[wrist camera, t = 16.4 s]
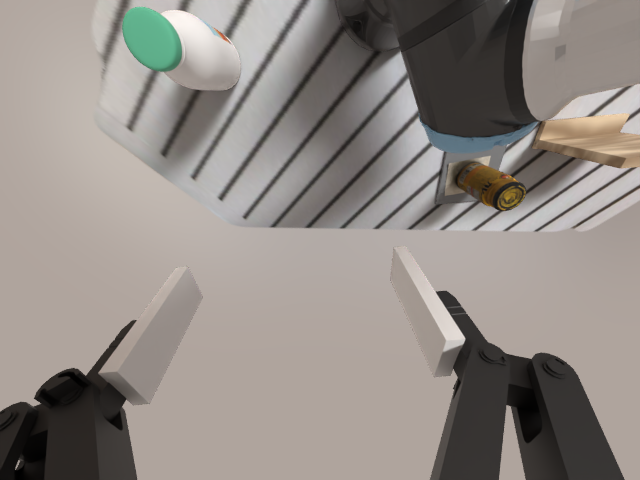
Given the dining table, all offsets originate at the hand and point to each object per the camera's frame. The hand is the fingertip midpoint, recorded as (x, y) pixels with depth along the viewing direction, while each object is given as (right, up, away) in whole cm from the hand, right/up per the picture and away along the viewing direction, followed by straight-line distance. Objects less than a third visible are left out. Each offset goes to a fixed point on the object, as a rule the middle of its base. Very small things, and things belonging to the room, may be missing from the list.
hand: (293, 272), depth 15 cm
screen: (+53, +24, +32) cm, 66 cm away
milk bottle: (-15, +31, +23) cm, 42 cm away
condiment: (+33, +16, +35) cm, 51 cm away
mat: (+34, +16, +35) cm, 51 cm away
